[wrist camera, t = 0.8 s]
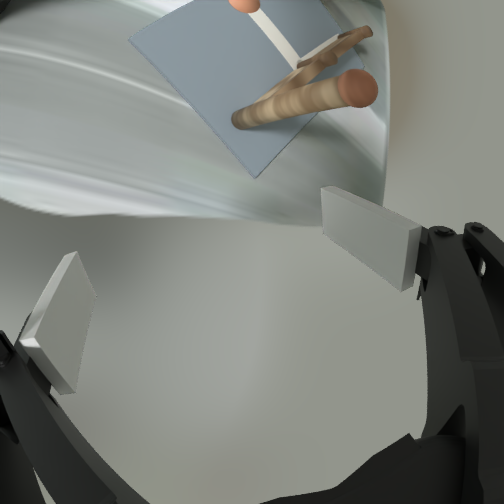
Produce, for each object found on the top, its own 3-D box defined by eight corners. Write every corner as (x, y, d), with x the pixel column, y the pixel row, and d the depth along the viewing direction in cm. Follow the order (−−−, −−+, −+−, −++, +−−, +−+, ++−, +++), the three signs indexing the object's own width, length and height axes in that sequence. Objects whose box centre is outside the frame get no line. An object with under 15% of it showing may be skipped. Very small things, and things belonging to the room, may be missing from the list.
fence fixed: (294, 65, 39) (324, 54, 33) (340, 33, 42) (367, 24, 36) (302, 76, 40) (332, 66, 34) (347, 42, 44) (374, 34, 38)
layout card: (127, 39, 27) (128, 38, 26) (288, -34, 33) (290, -35, 33) (253, 178, 41) (255, 178, 41) (363, 66, 48) (365, 66, 48)
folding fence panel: (290, 64, 39) (409, 26, 20) (302, 81, 41) (422, 52, 22) (224, 118, 36) (354, 75, 17) (240, 136, 38) (375, 113, 19)
